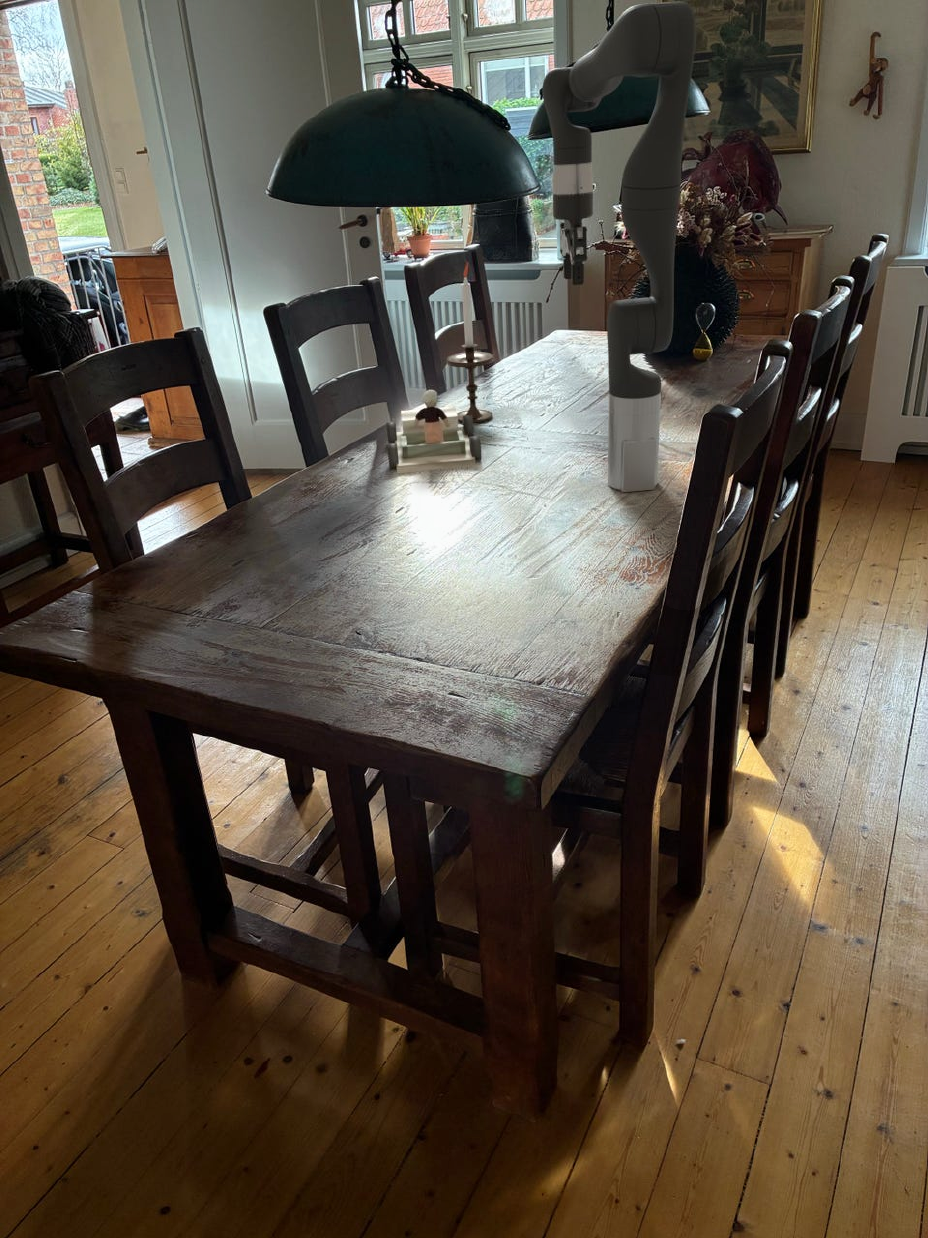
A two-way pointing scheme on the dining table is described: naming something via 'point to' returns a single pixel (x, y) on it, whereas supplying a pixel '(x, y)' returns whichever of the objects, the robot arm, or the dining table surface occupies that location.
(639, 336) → the robot arm
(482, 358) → the candlestick
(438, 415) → the grandmother figurine
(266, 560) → the dining table surface
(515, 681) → the dining table surface
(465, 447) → the chassis
